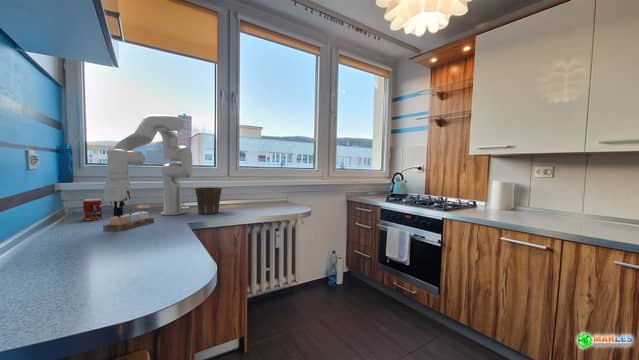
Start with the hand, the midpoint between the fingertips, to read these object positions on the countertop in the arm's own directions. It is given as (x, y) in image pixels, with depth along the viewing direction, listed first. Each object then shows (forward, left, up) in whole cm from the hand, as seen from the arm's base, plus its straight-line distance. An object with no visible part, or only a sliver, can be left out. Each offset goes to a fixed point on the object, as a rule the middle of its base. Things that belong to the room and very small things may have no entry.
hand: (118, 215), depth 119 cm
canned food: (+14, -35, -7) cm, 39 cm away
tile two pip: (-4, -5, -4) cm, 8 cm away
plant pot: (-44, -27, -7) cm, 52 cm away
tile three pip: (0, 0, -4) cm, 4 cm away
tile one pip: (-8, -10, -4) cm, 14 cm away
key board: (-4, -5, -6) cm, 9 cm away
